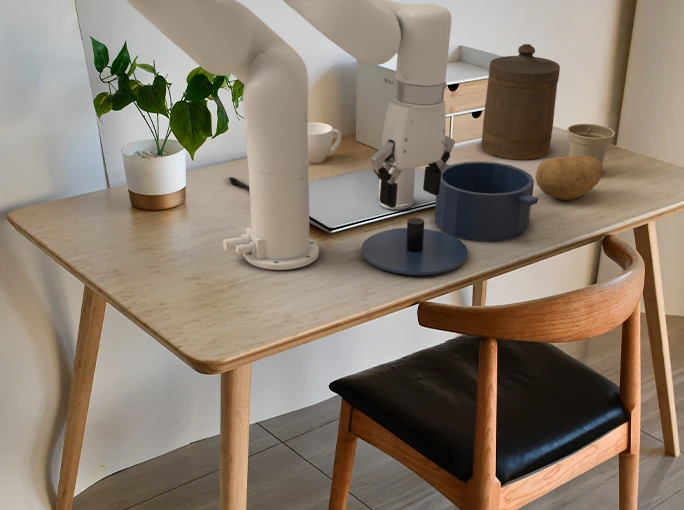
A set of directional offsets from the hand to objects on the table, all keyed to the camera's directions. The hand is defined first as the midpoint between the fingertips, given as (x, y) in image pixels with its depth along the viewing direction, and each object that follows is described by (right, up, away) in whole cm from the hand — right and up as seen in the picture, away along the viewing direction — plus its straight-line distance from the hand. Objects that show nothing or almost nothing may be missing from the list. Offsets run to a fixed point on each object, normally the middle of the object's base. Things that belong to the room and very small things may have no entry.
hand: (409, 198), depth 149 cm
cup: (-17, +17, +45) cm, 51 cm away
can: (-1, +3, +24) cm, 25 cm away
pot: (+14, -1, +17) cm, 22 cm away
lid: (+1, -8, +5) cm, 9 cm away
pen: (-30, +7, +29) cm, 42 cm away
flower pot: (+38, +13, +41) cm, 58 cm away
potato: (+32, +6, +29) cm, 43 cm away
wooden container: (+26, +21, +53) cm, 62 cm away
